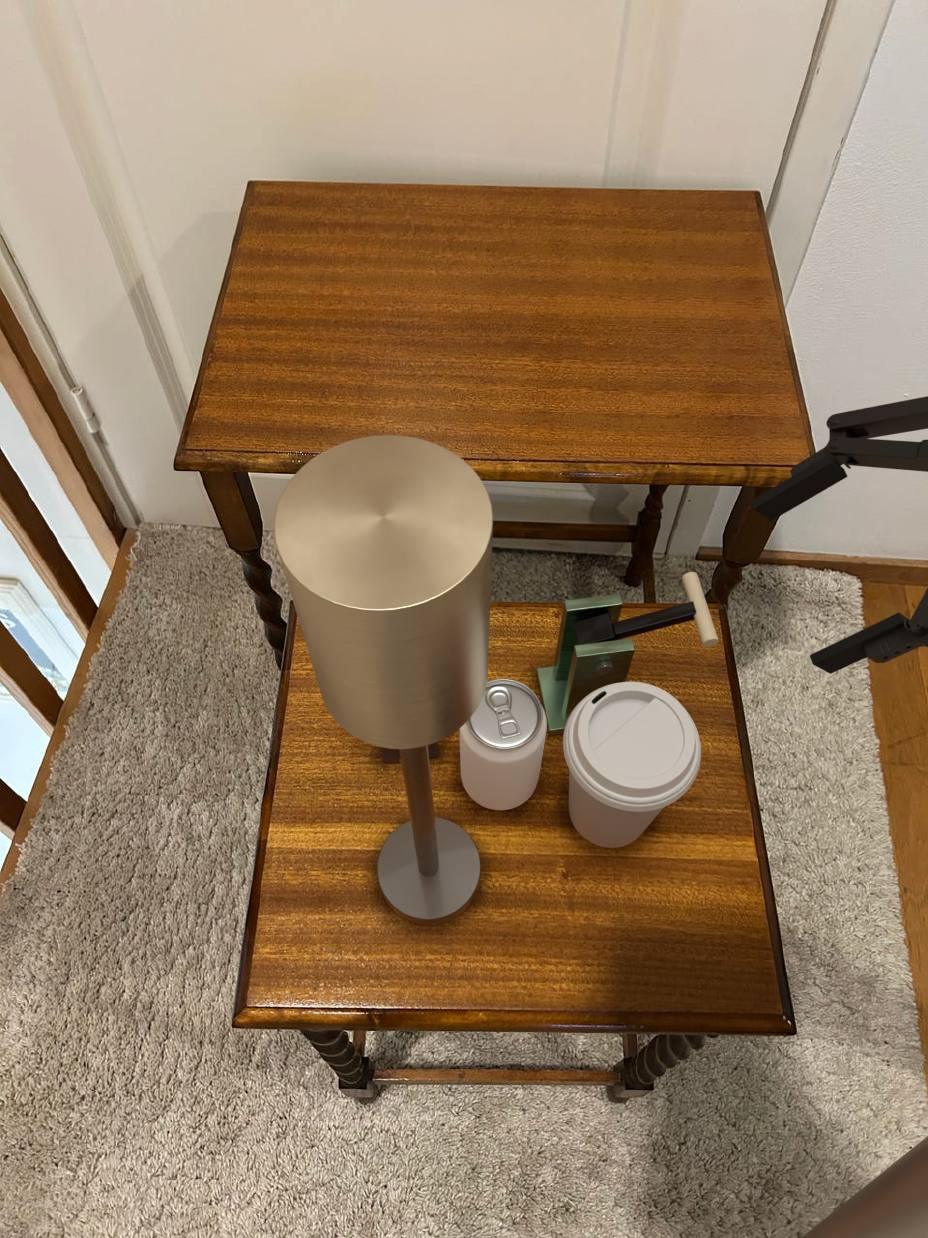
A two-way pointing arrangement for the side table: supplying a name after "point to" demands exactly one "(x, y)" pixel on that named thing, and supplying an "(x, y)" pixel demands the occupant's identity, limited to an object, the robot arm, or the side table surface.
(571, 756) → the coffee cup
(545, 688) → the bracket
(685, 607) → the lever
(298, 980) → the side table surface
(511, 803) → the can
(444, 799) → the side table surface
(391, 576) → the lamp
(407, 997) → the side table surface
